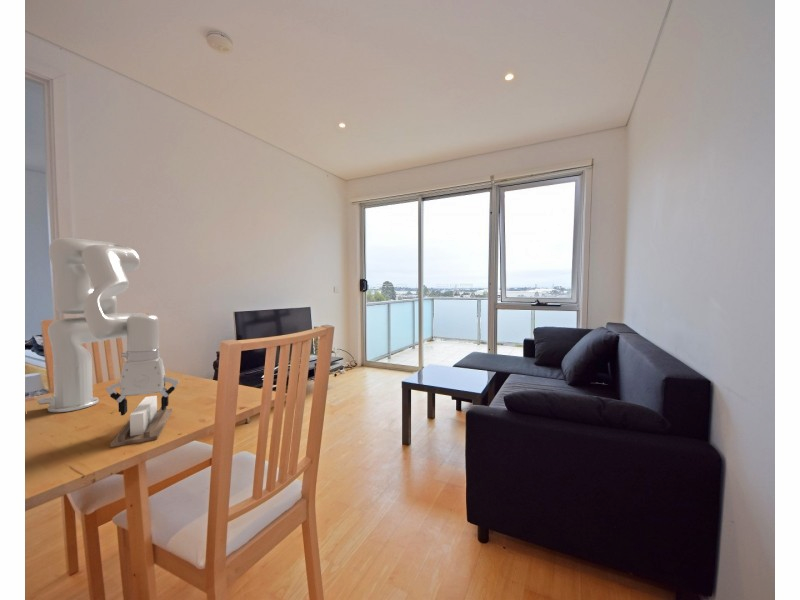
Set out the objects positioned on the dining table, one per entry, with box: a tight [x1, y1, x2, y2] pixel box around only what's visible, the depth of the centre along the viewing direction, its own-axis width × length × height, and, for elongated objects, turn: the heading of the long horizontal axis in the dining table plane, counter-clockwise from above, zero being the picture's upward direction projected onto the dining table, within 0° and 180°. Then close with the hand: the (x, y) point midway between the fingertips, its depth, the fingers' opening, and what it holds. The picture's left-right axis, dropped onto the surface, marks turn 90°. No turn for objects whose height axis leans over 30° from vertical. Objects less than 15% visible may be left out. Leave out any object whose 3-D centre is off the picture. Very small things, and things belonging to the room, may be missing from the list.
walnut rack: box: [109, 407, 173, 448], centre depth 95 cm, size 10×22×2 cm, turn 27°
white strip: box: [129, 395, 158, 436], centre depth 95 cm, size 3×16×6 cm, turn 27°
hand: (144, 411), depth 95 cm, fingers open, 9 cm apart
